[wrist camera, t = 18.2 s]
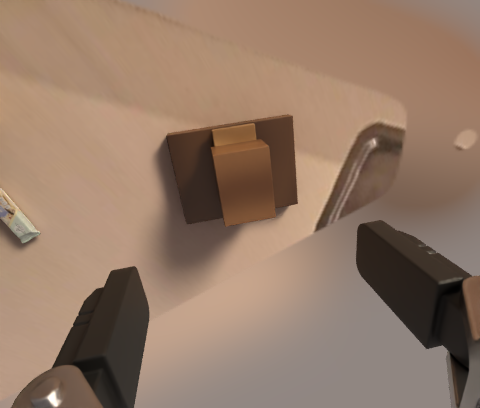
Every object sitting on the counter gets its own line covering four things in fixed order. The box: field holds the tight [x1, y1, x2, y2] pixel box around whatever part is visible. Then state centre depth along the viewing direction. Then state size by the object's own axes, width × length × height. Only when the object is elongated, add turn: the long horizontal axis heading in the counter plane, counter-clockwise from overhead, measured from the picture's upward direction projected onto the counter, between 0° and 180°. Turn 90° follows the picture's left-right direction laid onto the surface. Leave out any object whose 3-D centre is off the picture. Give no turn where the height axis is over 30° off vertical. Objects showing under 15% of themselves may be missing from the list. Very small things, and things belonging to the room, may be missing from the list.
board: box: [166, 115, 298, 224], centre depth 32 cm, size 13×10×2 cm
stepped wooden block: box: [211, 123, 276, 227], centre depth 29 cm, size 10×5×5 cm, turn 8°
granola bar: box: [0, 188, 41, 243], centre depth 30 cm, size 7×2×1 cm, turn 23°
